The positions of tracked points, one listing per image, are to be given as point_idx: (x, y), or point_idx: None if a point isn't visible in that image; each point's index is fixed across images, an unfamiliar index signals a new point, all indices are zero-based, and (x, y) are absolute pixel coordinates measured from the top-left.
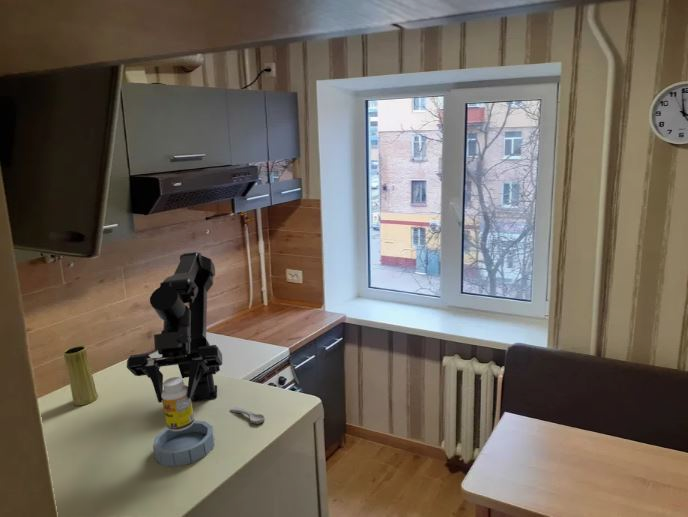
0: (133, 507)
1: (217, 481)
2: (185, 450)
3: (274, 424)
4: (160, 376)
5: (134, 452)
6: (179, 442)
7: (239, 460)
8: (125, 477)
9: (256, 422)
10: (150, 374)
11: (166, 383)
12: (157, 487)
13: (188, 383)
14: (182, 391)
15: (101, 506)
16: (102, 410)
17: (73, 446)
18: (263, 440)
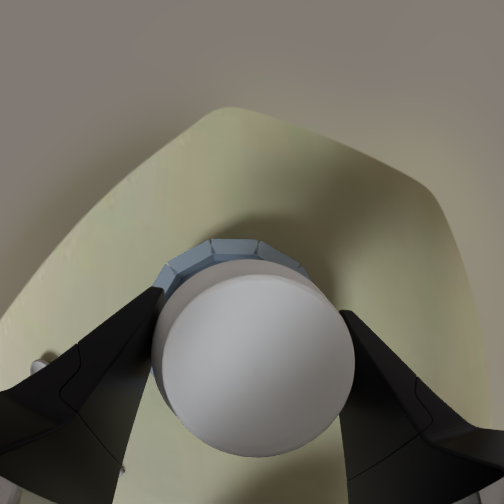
0: (321, 143)
1: (154, 158)
2: (221, 240)
3: (20, 342)
4: (376, 490)
5: None
6: None
7: (99, 218)
8: (367, 251)
9: (47, 363)
10: (474, 432)
11: (324, 341)
12: (286, 183)
13: (126, 340)
14: (186, 300)
15: (381, 172)
16: None
17: (470, 402)
18: (43, 281)
